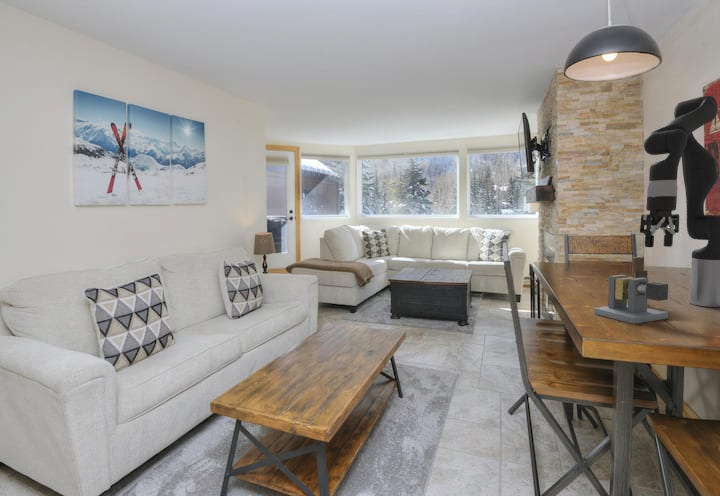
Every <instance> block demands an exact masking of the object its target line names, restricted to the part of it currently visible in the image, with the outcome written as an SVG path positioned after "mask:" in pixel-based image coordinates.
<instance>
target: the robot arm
mask: <svg viewBox="0 0 720 496" xmlns="http://www.w3.org/2000/svg"><path fill="white" fill-rule="evenodd" d="M718 107H719V106H718V103H717V100H716V98H715V97H714V96H712V95H703V96H700V97H695V98H692V99H688V100H683V101H679V102H678V103H676V104H675V106H674V109H673V110H674V112H673V113H674V114H673V115H674V116H673V117H674V119H672V120H671V121H670V122H668V123H667V124H666V125H665V126H663V127H660V128H657V129H656V130H653V131H652V132H650V133H649V134H648V135H647V136H646V138H645V140H644V142H643V149H644V151H645V152H646V154H648V155H652V156H658V155H667V157H666V158H665V159H663V160H661V161H657V162H656V161H655V162H654V163H651V164H650V166H649V174H648V175H649V177H648V186H647V191H646V194H647V195H646V211H647V212H649V213H641V216H640V224H639V225H640V226H639V233H641V234H643V235H644V247H645V248H654V246H655V245H654V243H655V233H656V232H657V231H658V230H659V229H660V230H662V231H663V234H664V235H663V247H667V248H670V247H671V248H672V247H673V243H674V242H673V239H674V236H675V234H678V233H679V232H680V214H679V213H677V214H676V213H672V212H673V211H676V210H677V203H678V202H677V200H678V171H679V164H680V162H681V166H682V176H683V177H682V178H683V183H684V191H685V200H686V231H687V234H688V236H689V237H690V239H693V240H700V241H707V244H706V245H705V246H704V247H701V248H698V249H694V250H692V252H691V263H690V266H691V267H690V283H689V285H690V286H689V301H688V303H689V304H690V305H694V306H699V307H708V308H720V214H705V209H704V207H705V201H706V198H707V197H708V196H709V194H710V193H711V190H712V189H713V188H714V186H715V184H716V182H717V179H718V172H717V171H718V170H717V163H716V162H717V161H716V159H715V157H714V156H713V154H711V152H710V151H709V150H707V149H706V148H705V147H704V146H703V145H702V144H701V143H700V142H699V141H698V140H697V139H696V138H695V136H694V133H693V132H695V131H697V130H698V129H699V128H701V127H703V126H704V125H706V124H709V123H710V122H712V121H714V120H715V118H716V117H717V114H718V109H719V108H718Z"/></svg>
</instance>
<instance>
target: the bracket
mask: <svg viewBox="0 0 720 496" xmlns="http://www.w3.org/2000/svg"><path fill="white" fill-rule="evenodd" d="M625 277H629V275H627V274H618V275H609V276H608V302H607V306H600V307H594V308H593V313H594V315H597V316H602V317H605V318H610V319H613V320H617V321H620V322H624V323H630V324H632V325H635V324H642V323H646V322H652V321H659V320H666V319H668V317H669V312H668V311H664V310H659V309H654V308H649V307H648V299H646V294H644V293H640V294H636V288H637V283H638V282H640V284H641V285H646V283H649V278H648V277H647V278H634V279H629V284H628V299H626V300H620V299H615V290H616V278H625ZM625 293H627V290H626V291H625Z"/></svg>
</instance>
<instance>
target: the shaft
mask: <svg viewBox="0 0 720 496" xmlns="http://www.w3.org/2000/svg"><path fill="white" fill-rule="evenodd" d="M628 284H629V283H626V290H627V291H628ZM636 292H638V293H644V294H646V299H647V300H651V301H656V302H657V301H658V302H661V301H668V299H669V298H668V297H669V283H663V282H656V281H654V282H648V283H646V285H641V284H637V288H636Z"/></svg>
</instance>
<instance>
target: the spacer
mask: <svg viewBox="0 0 720 496" xmlns="http://www.w3.org/2000/svg"><path fill="white" fill-rule="evenodd" d="M634 278H635V277H632V276H628V277H625V278H616V290H615V299H620V300H626V299H627V300H628V291H627V293H625V291H626V283H629V279H634ZM636 294H637V292H636Z"/></svg>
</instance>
